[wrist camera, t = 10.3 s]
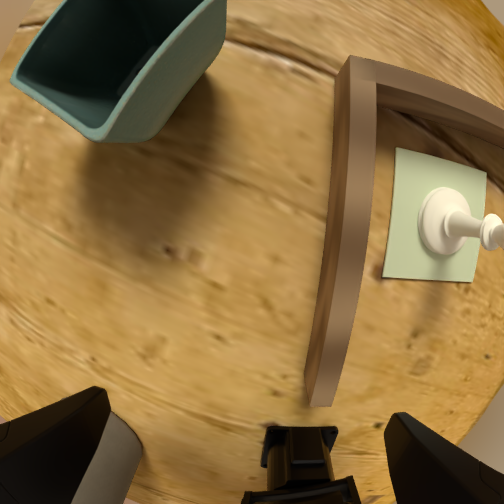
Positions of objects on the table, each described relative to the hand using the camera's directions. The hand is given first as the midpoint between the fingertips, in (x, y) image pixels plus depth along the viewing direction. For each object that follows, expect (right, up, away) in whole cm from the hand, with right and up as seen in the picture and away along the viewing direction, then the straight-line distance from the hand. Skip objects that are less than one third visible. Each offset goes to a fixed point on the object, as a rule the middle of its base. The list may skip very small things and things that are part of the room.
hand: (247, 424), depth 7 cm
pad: (+14, +7, +11) cm, 19 cm away
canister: (-17, -15, +17) cm, 28 cm away
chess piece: (+14, +7, +11) cm, 19 cm away
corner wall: (+16, +5, +11) cm, 20 cm away
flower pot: (-6, +17, +10) cm, 21 cm away
